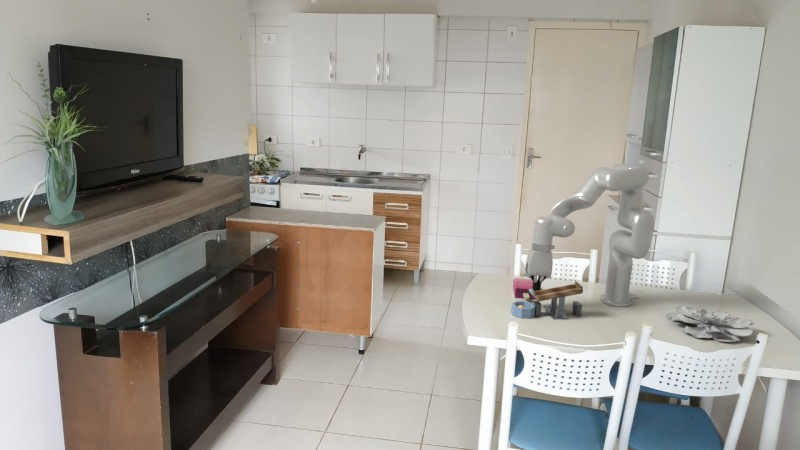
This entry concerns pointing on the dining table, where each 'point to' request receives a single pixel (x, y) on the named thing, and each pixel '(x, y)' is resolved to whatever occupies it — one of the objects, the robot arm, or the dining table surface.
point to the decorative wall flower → (712, 324)
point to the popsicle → (522, 288)
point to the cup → (523, 309)
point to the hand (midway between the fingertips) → (535, 291)
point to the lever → (557, 292)
